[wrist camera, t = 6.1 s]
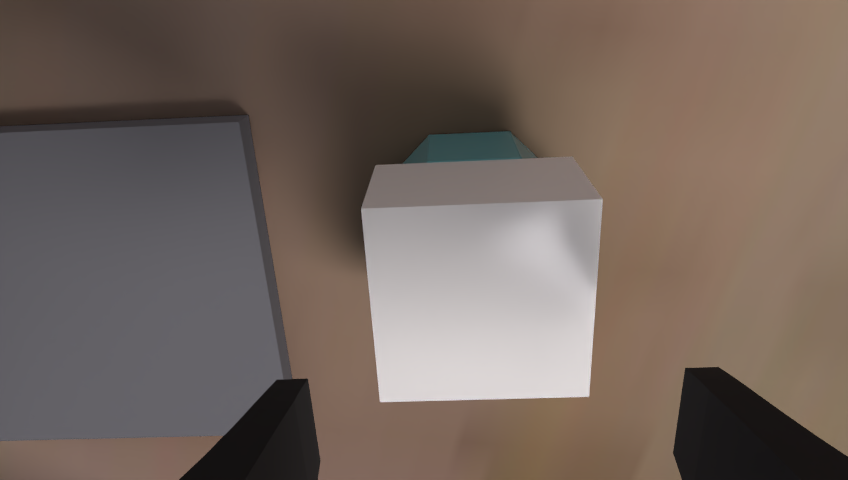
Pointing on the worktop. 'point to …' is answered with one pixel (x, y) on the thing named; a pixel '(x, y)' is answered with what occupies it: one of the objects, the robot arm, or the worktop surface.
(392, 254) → the white block
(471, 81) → the worktop surface
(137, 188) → the mat
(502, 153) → the bowl
